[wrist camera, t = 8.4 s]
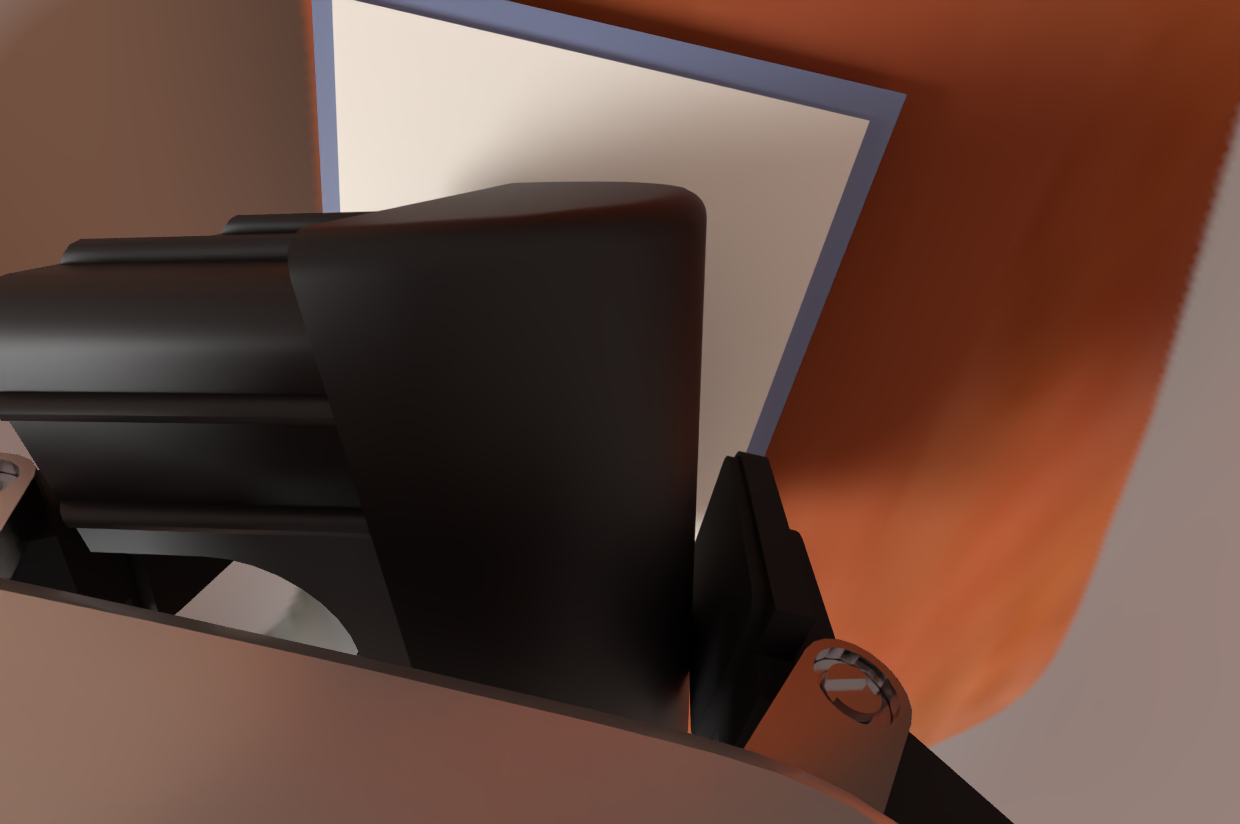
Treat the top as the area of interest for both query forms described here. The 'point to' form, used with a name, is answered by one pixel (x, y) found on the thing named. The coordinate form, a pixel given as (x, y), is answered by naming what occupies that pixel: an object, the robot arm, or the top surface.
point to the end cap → (401, 422)
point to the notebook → (617, 159)
